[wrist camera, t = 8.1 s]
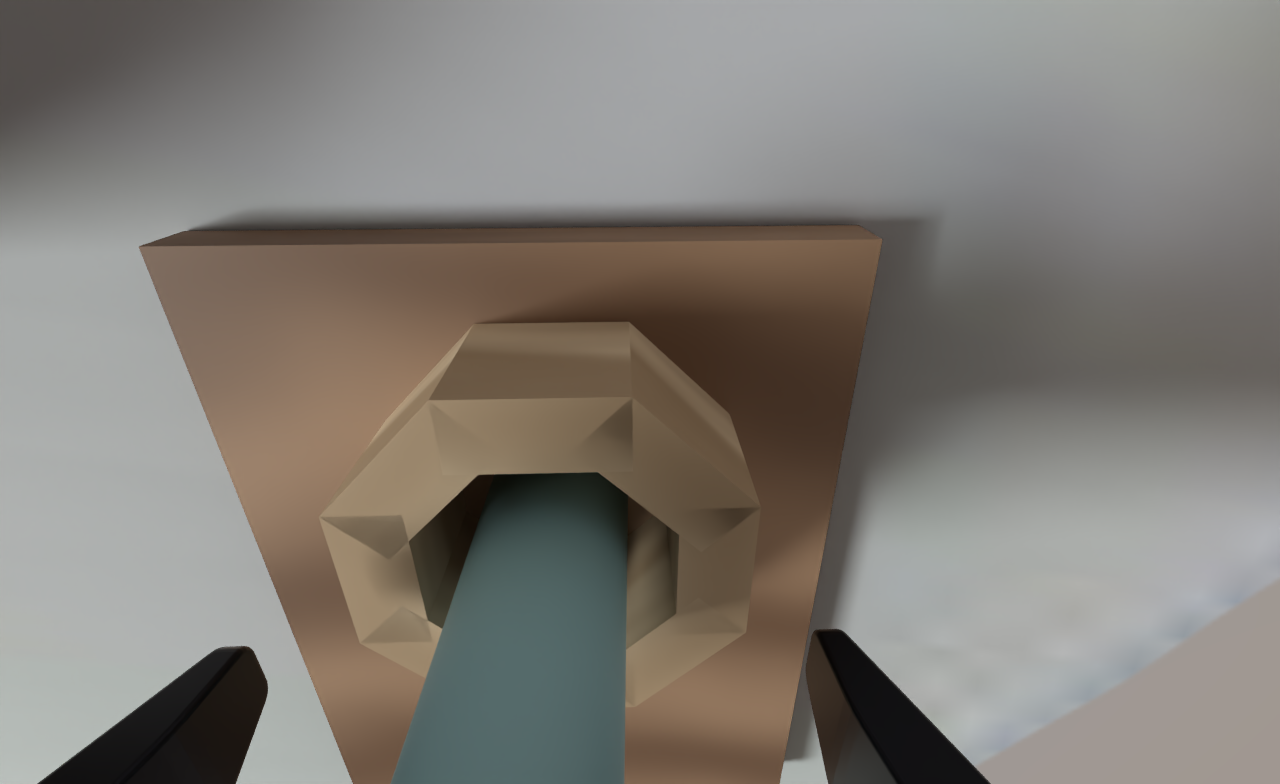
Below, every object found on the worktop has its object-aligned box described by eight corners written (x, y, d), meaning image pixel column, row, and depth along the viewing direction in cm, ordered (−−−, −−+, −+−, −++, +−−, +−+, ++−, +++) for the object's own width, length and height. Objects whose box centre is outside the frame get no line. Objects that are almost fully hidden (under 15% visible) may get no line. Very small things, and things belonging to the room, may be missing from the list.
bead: (715, 589, 14) (737, 704, 12) (427, 596, 14) (383, 715, 12) (737, 320, 11) (774, 394, 8) (363, 325, 11) (281, 403, 8)
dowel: (628, 526, 13) (619, 1406, 5) (505, 527, 13) (262, 1412, 5) (627, 422, 12) (611, 1393, 3) (489, 423, 12) (101, 1401, 3)
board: (767, 764, 20) (775, 802, 19) (380, 777, 20) (366, 817, 19) (858, 224, 12) (882, 239, 11) (184, 231, 11) (138, 246, 10)
